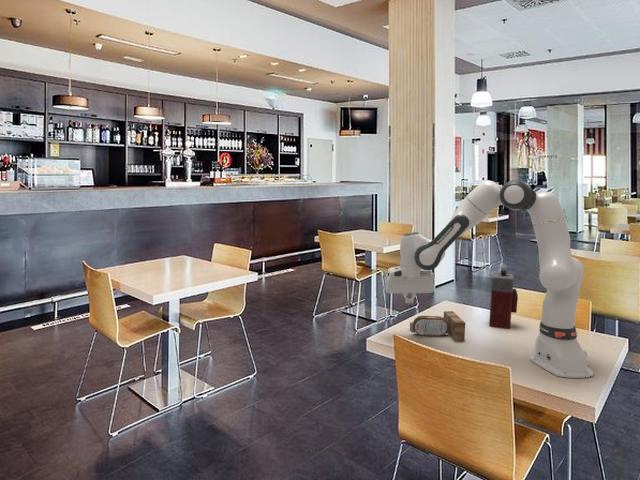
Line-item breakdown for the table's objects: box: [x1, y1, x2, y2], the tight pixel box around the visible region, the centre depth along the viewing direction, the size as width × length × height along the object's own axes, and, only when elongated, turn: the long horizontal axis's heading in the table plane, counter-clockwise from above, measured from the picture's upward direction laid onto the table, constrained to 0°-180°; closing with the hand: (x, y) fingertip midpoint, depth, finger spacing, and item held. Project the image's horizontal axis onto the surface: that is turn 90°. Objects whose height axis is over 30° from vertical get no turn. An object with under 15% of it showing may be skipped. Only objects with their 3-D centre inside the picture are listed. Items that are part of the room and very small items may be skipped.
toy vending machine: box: [488, 264, 519, 330], centre depth 220 cm, size 9×11×28 cm
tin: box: [412, 315, 449, 337], centre depth 207 cm, size 15×3×8 cm, turn 87°
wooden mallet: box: [409, 310, 466, 342], centre depth 208 cm, size 16×19×8 cm
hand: (409, 303), depth 205 cm, fingers closed
